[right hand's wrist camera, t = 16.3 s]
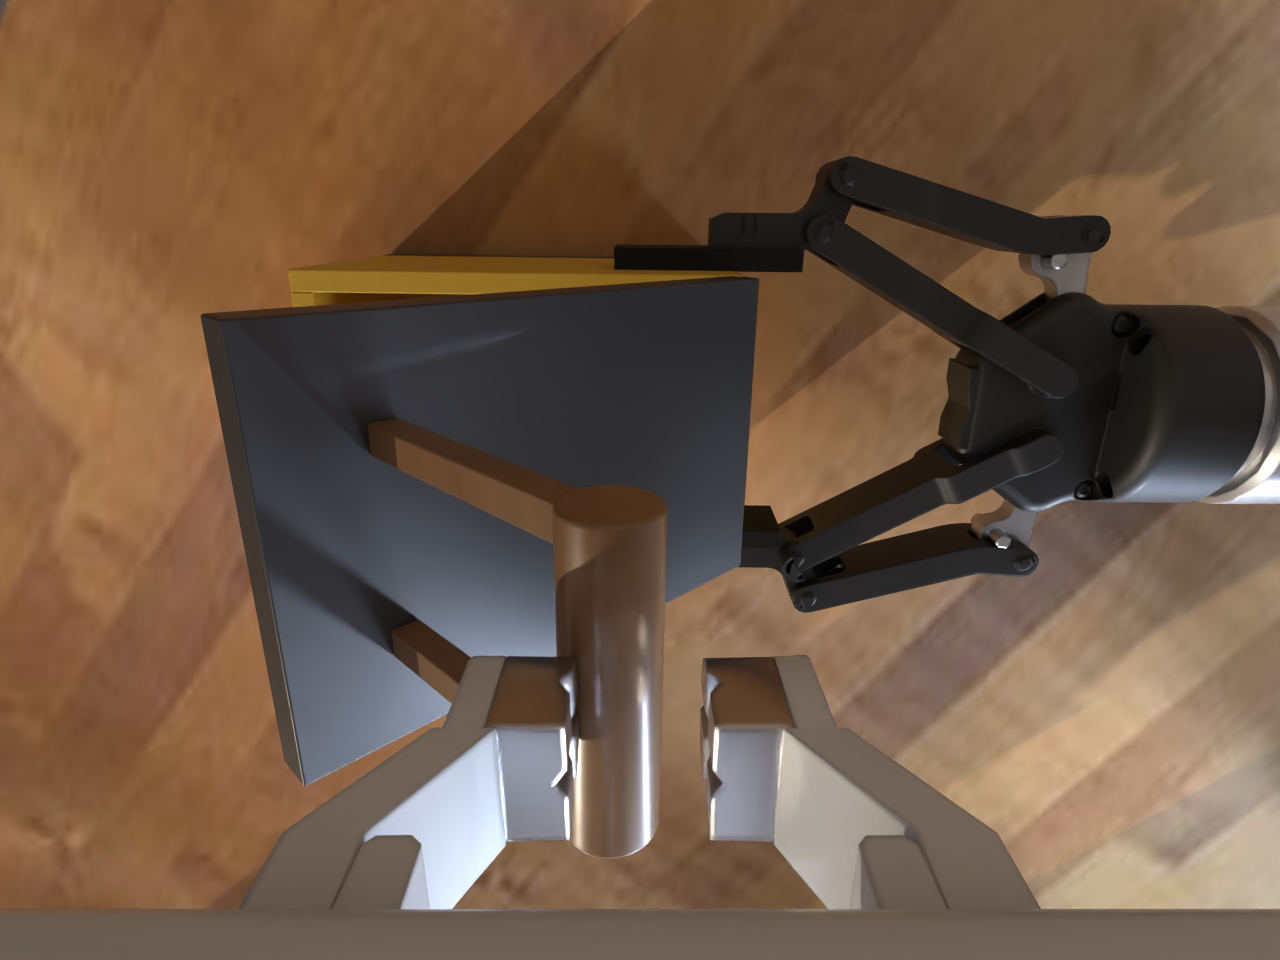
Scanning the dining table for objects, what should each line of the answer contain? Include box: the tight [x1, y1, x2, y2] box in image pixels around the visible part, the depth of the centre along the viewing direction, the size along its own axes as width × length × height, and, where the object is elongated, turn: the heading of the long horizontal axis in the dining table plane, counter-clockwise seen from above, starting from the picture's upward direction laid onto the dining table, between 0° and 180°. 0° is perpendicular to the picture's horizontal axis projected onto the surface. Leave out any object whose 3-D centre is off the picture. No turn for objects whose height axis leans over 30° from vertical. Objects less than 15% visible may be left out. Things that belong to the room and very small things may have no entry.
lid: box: [201, 276, 759, 859], centre depth 17 cm, size 15×10×9 cm
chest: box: [288, 254, 742, 307], centre depth 30 cm, size 15×10×10 cm
